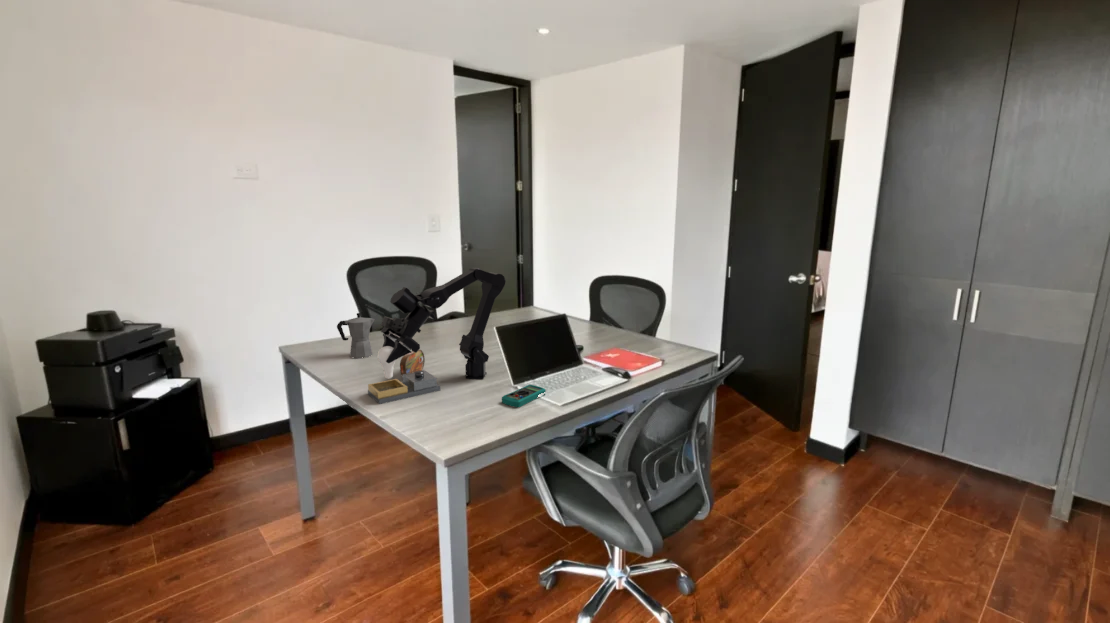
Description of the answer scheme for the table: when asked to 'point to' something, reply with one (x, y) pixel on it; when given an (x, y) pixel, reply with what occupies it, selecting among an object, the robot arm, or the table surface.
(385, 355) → the lightbulb
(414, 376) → the grey base with tray
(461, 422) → the table surface
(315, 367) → the table surface
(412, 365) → the tin
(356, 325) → the coffeepot
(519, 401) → the digital multimeter
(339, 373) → the table surface
